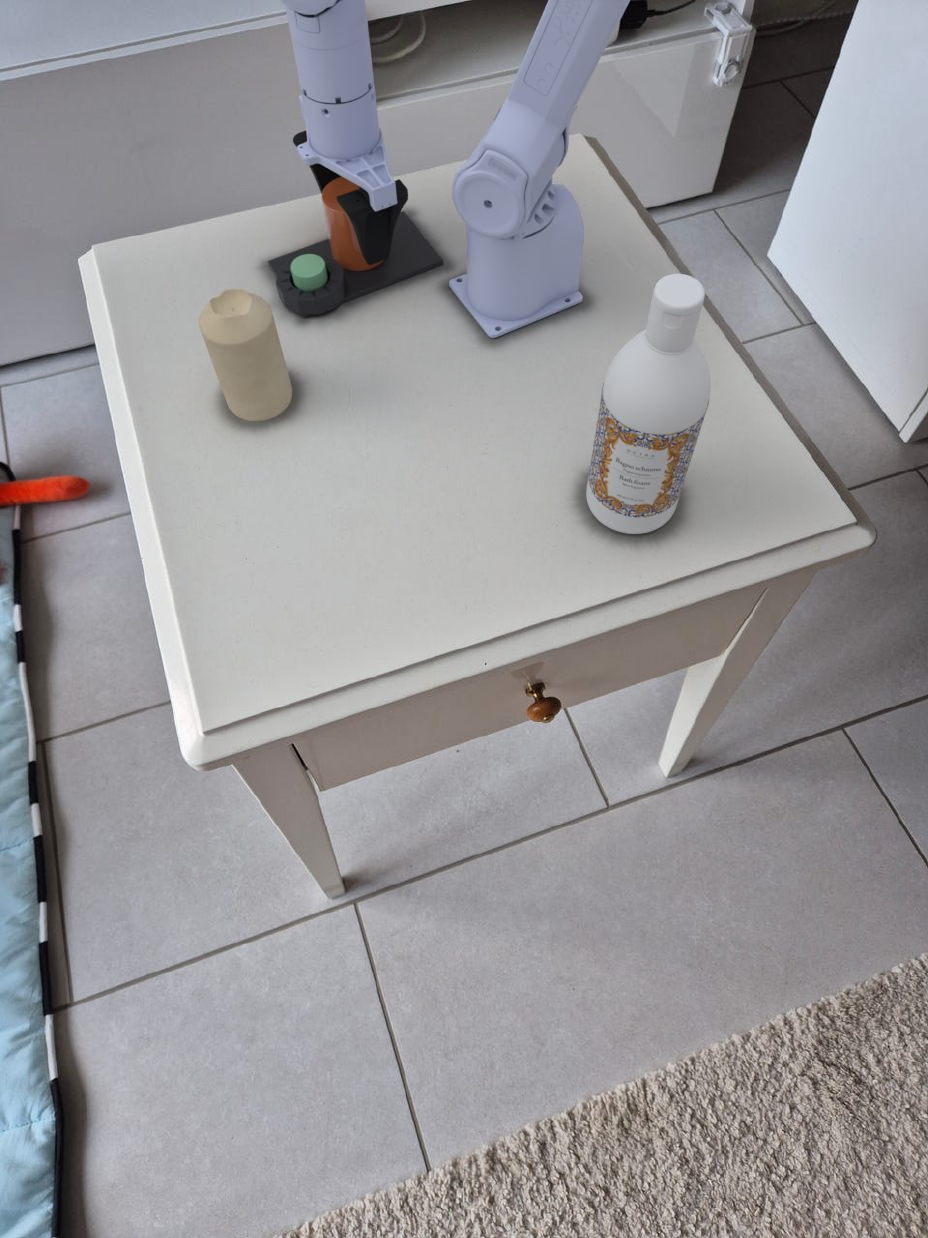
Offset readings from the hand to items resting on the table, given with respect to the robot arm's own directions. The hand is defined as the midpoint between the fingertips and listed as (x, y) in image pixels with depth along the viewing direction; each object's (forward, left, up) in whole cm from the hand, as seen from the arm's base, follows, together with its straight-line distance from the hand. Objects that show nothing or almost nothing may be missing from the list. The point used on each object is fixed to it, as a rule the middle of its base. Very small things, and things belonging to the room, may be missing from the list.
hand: (359, 234), depth 81 cm
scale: (+1, +1, -2) cm, 3 cm away
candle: (+15, +11, -3) cm, 19 cm away
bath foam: (-6, +35, -3) cm, 36 cm away
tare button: (+6, +3, -1) cm, 7 cm away
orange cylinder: (0, 0, -2) cm, 2 cm away
